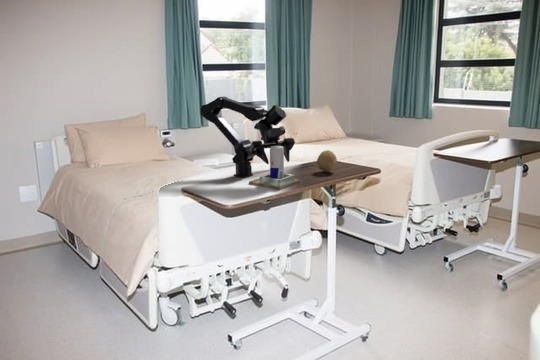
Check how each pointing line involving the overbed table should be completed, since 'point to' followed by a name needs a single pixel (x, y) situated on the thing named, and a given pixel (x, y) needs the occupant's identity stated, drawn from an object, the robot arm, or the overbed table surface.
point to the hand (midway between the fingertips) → (278, 162)
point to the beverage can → (276, 162)
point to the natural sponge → (326, 161)
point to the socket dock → (275, 181)
